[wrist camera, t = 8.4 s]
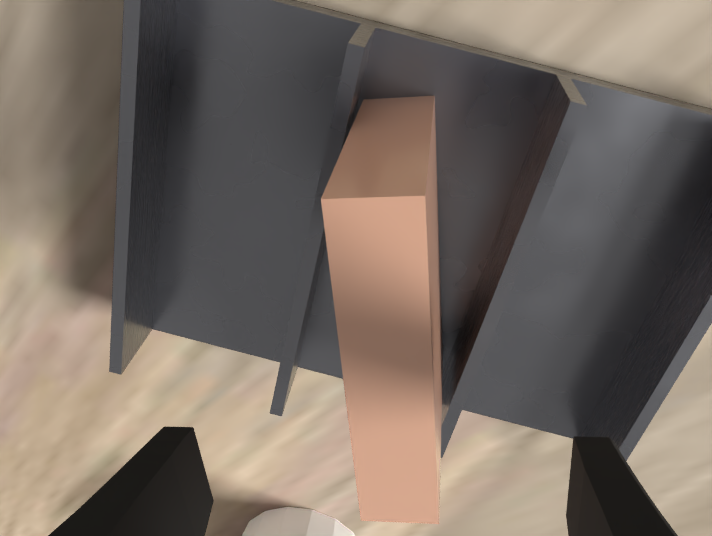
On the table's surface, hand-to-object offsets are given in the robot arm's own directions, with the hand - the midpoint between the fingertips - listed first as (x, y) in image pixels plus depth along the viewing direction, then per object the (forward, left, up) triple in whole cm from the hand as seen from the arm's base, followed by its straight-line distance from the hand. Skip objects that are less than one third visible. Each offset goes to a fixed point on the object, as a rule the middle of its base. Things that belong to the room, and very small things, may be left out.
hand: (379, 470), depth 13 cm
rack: (0, 0, -10) cm, 10 cm away
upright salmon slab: (0, 0, -10) cm, 10 cm away
